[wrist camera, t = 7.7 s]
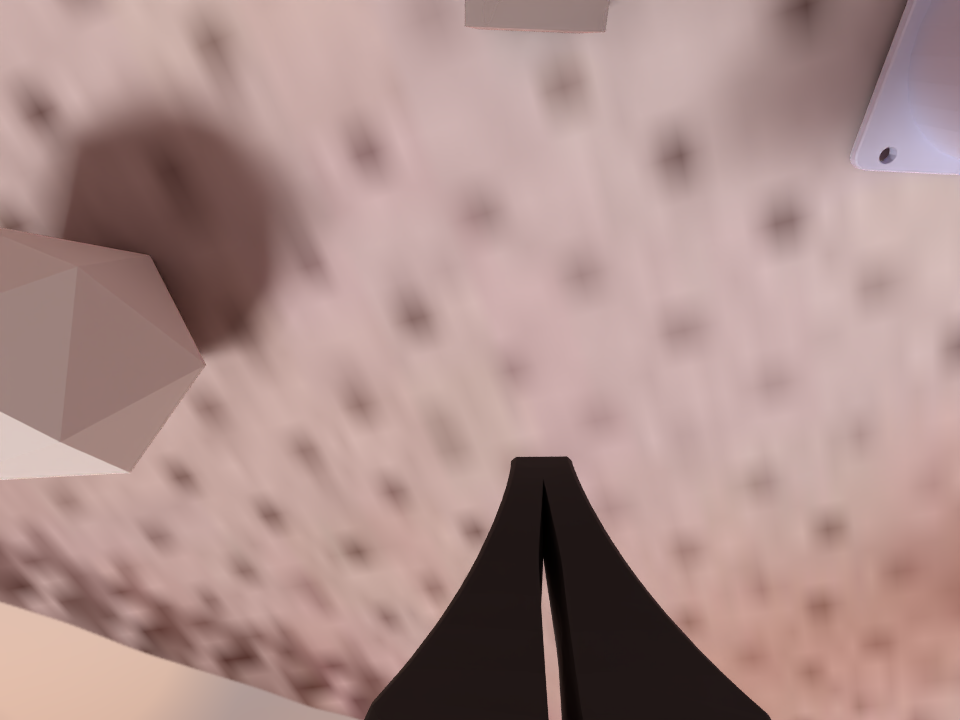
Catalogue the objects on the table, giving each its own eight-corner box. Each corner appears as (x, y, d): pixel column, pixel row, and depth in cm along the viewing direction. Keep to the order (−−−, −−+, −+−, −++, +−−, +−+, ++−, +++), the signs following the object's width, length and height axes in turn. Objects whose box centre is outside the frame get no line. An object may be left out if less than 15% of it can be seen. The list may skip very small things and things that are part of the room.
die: (-1, 168, 20) (-265, 385, 16) (109, 160, 16) (-223, 463, 11) (173, 310, 27) (16, 493, 22) (289, 335, 22) (117, 573, 18)
